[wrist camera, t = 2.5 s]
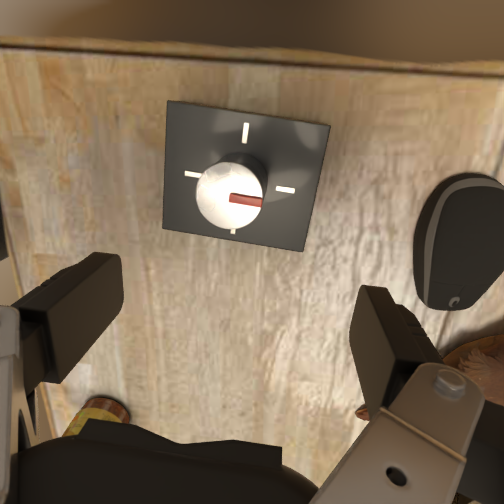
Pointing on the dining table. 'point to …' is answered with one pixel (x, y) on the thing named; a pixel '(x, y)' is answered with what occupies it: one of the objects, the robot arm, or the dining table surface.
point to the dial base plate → (257, 145)
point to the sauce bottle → (97, 414)
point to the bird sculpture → (477, 367)
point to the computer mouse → (459, 242)
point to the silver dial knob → (232, 191)
